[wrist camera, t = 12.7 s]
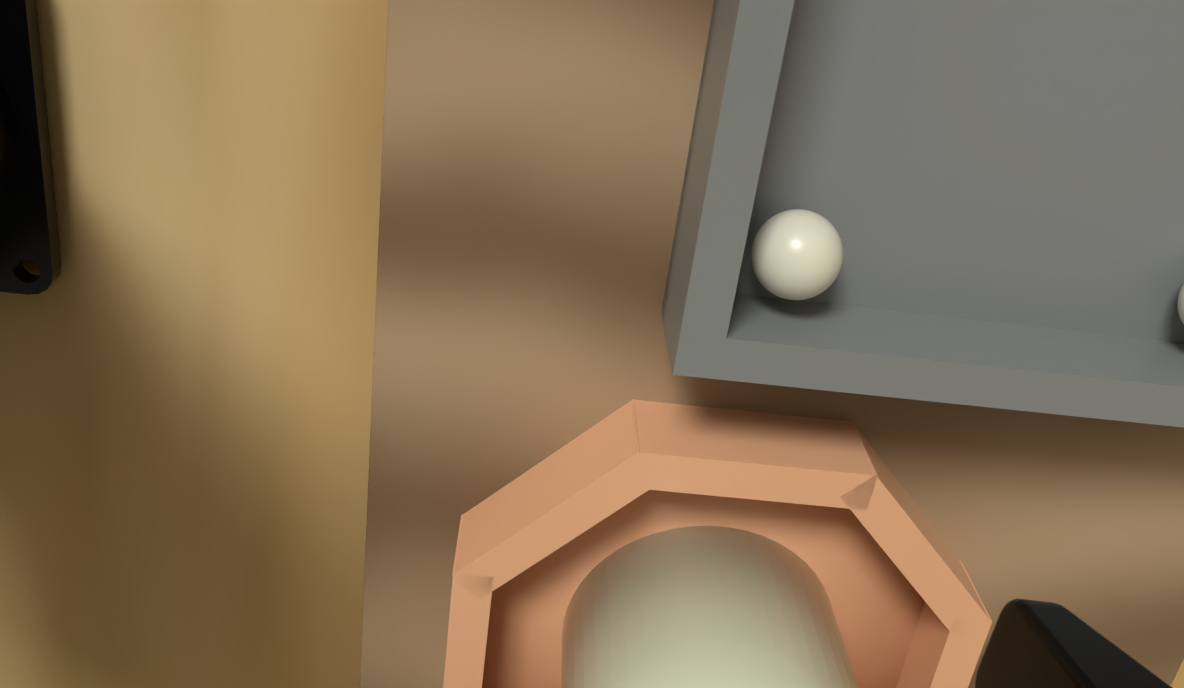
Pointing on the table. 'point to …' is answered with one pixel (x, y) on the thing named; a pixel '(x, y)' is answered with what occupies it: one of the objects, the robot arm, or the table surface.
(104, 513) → the table surface
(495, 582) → the terracotta dish
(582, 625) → the pale green tall cylinder
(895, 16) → the parts tray
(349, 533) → the table surface
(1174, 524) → the walnut board
